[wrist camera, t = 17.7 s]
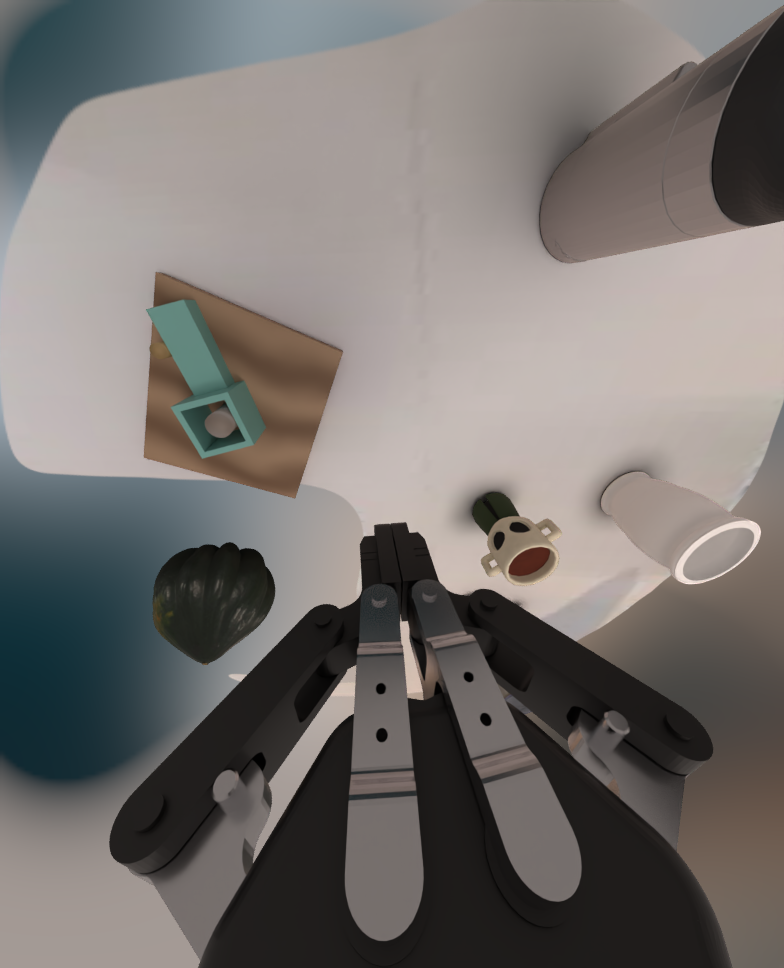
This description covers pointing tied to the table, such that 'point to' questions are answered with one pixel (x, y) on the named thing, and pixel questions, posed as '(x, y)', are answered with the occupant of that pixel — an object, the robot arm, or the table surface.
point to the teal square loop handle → (205, 380)
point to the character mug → (516, 542)
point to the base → (271, 382)
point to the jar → (679, 527)
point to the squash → (211, 599)
